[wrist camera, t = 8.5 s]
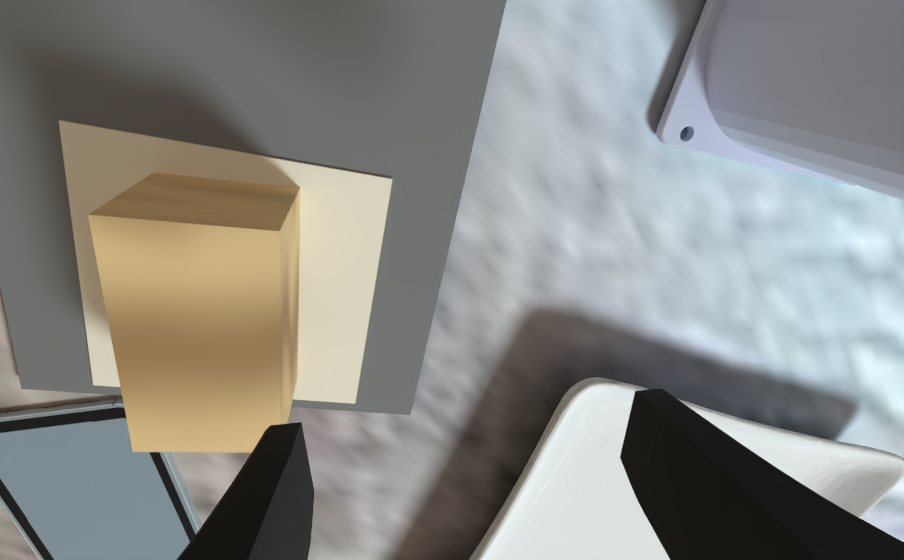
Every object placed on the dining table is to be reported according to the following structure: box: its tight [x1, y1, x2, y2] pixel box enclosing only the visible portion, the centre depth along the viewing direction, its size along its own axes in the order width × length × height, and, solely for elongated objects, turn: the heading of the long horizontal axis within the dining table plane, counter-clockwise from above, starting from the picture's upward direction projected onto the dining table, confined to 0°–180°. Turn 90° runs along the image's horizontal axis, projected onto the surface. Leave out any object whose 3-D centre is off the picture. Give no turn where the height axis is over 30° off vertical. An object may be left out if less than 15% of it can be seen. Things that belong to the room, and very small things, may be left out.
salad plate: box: [469, 377, 904, 560], centre depth 27 cm, size 21×21×3 cm
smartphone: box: [0, 398, 203, 560], centre depth 23 cm, size 7×1×15 cm
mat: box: [0, 0, 506, 415], centre depth 16 cm, size 15×20×1 cm
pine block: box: [88, 172, 300, 452], centre depth 16 cm, size 8×4×4 cm, turn 171°
